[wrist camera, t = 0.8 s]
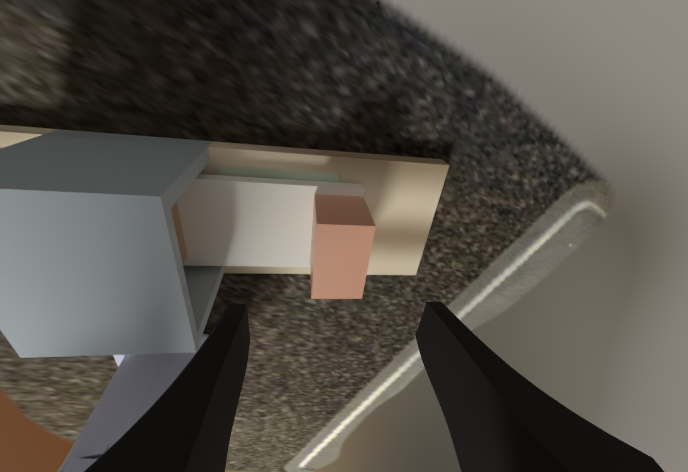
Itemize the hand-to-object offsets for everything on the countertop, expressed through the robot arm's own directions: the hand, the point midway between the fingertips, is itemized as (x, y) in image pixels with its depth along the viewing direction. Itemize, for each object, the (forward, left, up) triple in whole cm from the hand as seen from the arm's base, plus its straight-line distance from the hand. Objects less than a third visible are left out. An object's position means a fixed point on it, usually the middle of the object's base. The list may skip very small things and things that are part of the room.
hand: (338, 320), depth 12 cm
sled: (-1, +6, -9) cm, 11 cm away
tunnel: (-1, +11, -10) cm, 15 cm away
